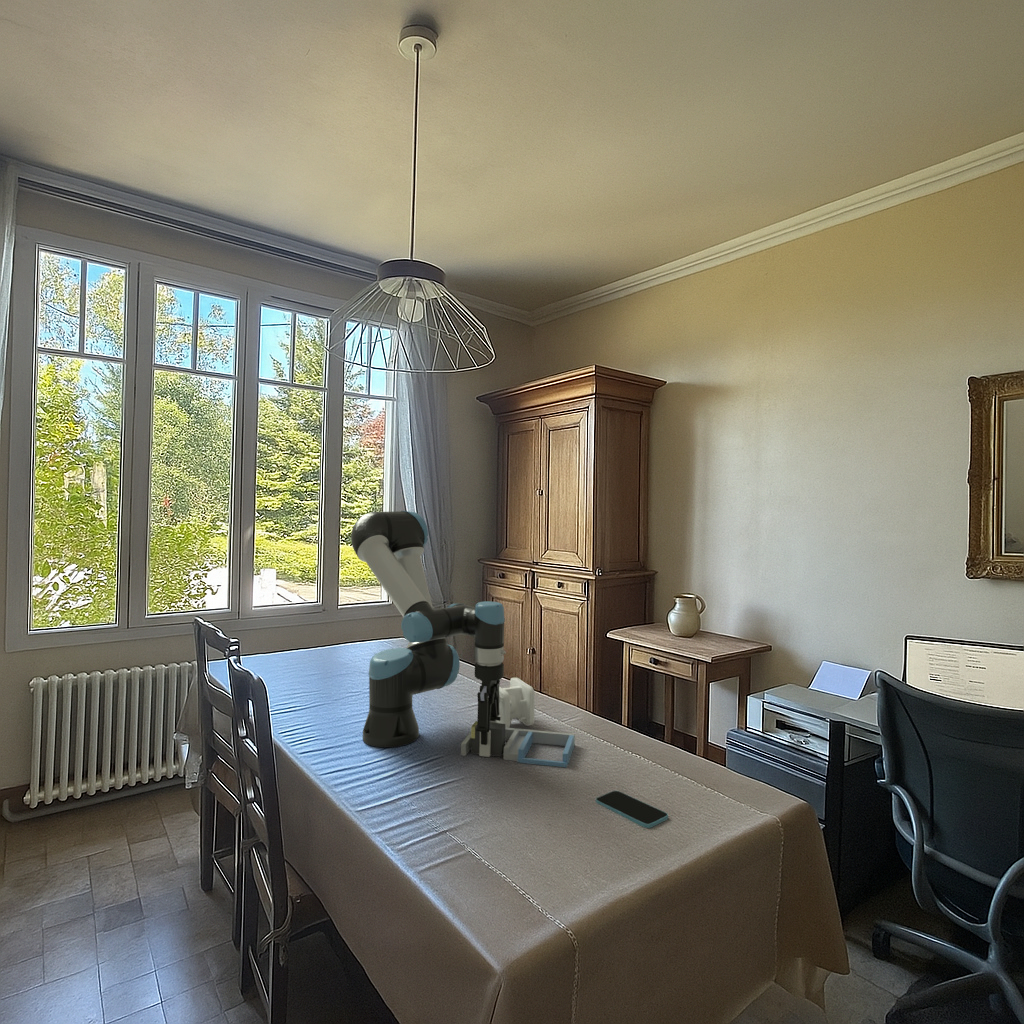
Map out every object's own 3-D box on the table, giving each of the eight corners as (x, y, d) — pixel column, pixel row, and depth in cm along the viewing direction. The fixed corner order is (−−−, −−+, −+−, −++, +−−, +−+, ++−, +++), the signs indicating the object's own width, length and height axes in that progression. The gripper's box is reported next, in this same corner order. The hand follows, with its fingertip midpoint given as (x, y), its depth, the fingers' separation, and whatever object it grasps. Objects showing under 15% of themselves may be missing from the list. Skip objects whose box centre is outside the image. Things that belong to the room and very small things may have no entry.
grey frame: (460, 756, 165) (460, 744, 164) (475, 735, 179) (476, 724, 179) (566, 767, 158) (567, 755, 158) (574, 744, 173) (574, 733, 172)
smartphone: (616, 789, 146) (670, 814, 134) (616, 794, 146) (670, 819, 134) (593, 799, 141) (647, 825, 130) (593, 804, 141) (647, 830, 130)
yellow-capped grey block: (471, 753, 167) (471, 726, 167) (475, 747, 171) (475, 721, 171) (501, 756, 165) (501, 729, 165) (505, 750, 169) (505, 723, 169)
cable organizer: (536, 729, 184) (536, 689, 183) (502, 735, 179) (502, 694, 179) (514, 713, 197) (515, 675, 197) (482, 718, 193) (482, 679, 193)
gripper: (494, 673, 157) (493, 767, 158) (511, 654, 175) (510, 738, 176) (464, 671, 159) (463, 764, 159) (485, 652, 177) (484, 735, 178)
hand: (488, 750), depth 168 cm, fingers open, 6 cm apart
